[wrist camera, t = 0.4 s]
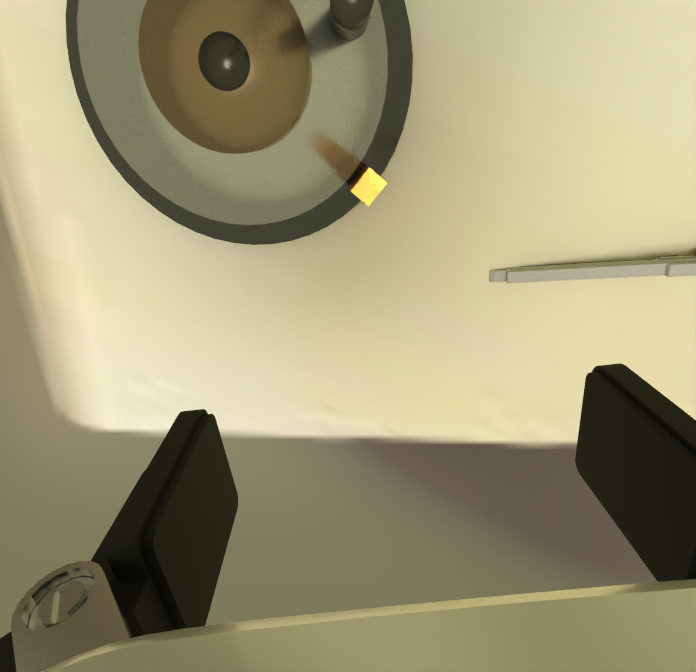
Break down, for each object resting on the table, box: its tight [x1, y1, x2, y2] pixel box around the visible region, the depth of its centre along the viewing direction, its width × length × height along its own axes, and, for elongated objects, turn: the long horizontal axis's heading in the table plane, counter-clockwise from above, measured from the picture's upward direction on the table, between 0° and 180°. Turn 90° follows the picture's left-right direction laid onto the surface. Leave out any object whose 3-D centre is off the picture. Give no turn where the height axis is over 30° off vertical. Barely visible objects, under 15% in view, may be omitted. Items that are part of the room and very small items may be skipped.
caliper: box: [490, 255, 696, 283], centre depth 35 cm, size 20×1×6 cm, turn 96°
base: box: [66, 0, 413, 245], centre depth 29 cm, size 24×24×6 cm
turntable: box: [77, 0, 388, 225], centre depth 27 cm, size 20×20×7 cm
